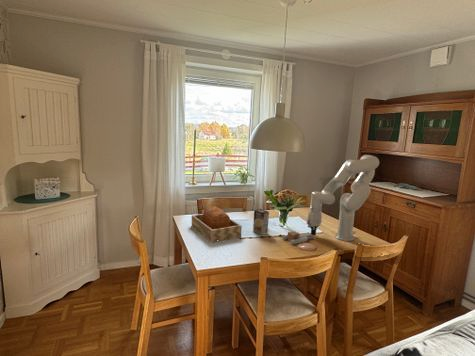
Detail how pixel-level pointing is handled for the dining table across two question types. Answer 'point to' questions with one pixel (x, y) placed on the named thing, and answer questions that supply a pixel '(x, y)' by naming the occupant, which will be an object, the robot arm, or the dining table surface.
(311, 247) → the coaster
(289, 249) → the dining table surface
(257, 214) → the coffee box
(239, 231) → the bread crate
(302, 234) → the push bar
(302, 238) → the channel
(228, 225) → the bread
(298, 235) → the walnut block
